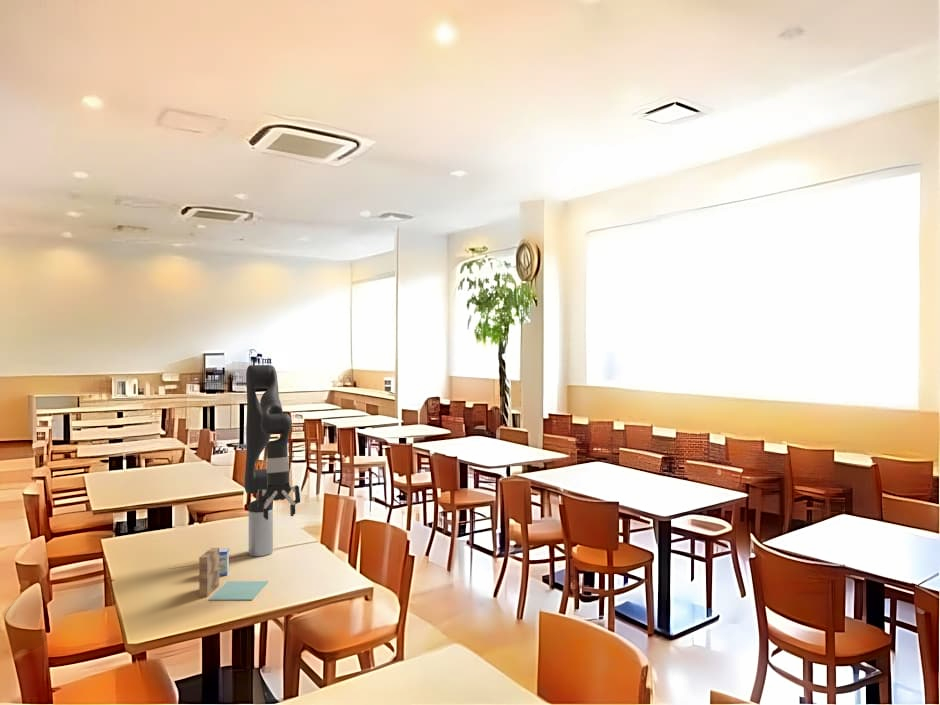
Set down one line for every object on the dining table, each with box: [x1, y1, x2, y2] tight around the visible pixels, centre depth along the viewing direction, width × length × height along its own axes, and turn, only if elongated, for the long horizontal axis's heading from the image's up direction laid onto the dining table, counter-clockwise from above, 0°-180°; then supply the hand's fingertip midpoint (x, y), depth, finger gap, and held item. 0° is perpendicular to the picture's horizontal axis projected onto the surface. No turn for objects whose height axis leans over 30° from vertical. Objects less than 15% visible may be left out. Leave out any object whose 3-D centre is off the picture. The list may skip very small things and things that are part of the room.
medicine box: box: [204, 548, 230, 577], centre depth 227 cm, size 8×4×9 cm, turn 105°
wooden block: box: [198, 547, 220, 598], centre depth 211 cm, size 10×3×13 cm, turn 0°
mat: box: [208, 580, 269, 602], centre depth 211 cm, size 16×14×1 cm
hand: (279, 517), depth 219 cm, fingers open, 8 cm apart
